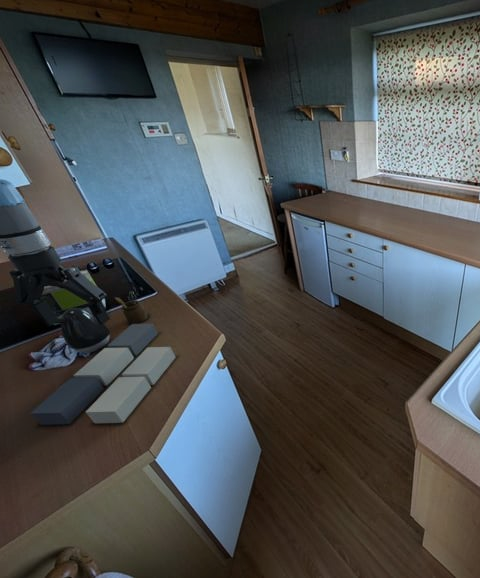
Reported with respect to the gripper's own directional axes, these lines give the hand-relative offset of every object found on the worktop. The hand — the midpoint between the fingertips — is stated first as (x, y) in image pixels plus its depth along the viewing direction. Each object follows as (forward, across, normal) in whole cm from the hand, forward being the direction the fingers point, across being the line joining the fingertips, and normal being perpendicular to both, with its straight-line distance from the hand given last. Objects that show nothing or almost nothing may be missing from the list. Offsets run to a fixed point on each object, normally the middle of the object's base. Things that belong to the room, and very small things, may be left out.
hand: (79, 322), depth 79 cm
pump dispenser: (+18, -13, +10) cm, 25 cm away
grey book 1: (+18, 0, -13) cm, 22 cm away
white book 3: (+18, +13, -1) cm, 22 cm away
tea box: (+18, -34, +31) cm, 49 cm away
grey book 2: (+18, 0, +11) cm, 21 cm away
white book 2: (+18, +13, -13) cm, 26 cm away
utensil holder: (+18, -9, +25) cm, 32 cm away
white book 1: (+18, 0, -1) cm, 18 cm away
